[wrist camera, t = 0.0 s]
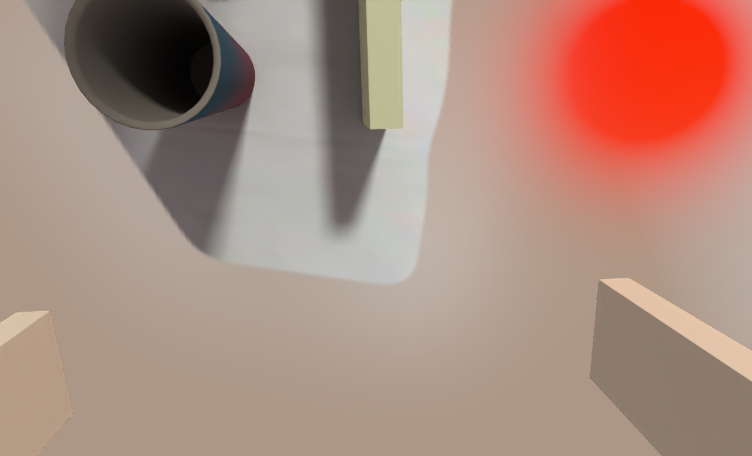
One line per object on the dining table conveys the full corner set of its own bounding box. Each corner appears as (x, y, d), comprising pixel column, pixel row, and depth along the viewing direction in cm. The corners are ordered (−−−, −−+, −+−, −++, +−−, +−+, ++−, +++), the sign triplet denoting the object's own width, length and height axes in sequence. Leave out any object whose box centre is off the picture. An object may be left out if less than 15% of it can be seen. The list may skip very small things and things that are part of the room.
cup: (194, 131, 37) (102, 148, 22) (160, 40, 35) (36, -5, 21) (279, 106, 37) (242, 107, 23) (249, 14, 35) (187, -50, 21)
